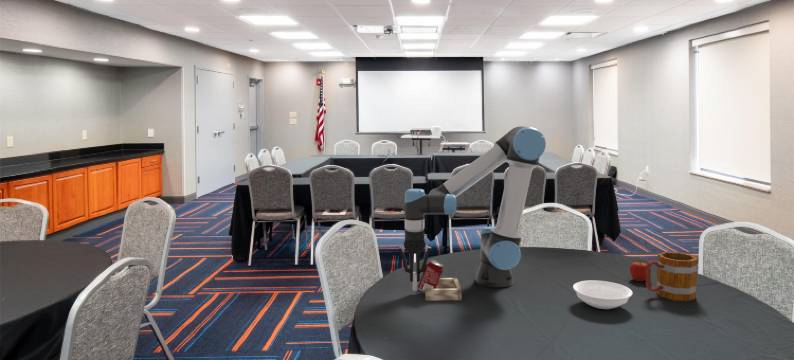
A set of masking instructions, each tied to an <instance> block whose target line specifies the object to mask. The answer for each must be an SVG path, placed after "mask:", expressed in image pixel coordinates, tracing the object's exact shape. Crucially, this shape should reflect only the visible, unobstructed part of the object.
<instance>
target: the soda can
mask: <svg viewBox="0 0 794 360" xmlns="http://www.w3.org/2000/svg"><path fill="white" fill-rule="evenodd" d="M443 268H444V265H443V263H441V262H439V261H436V260H434V259H430V260H429V261H427V263H426V267H425V271H424V272H422V274H421V275H420V281H419V282H417V289H418V290H419V291H420V292H422V293H424V294H425V289H435V288H436V286H437V284H438V281H439V279H440V278H442V277H441V276H442V274H443V272H444V269H443Z"/></svg>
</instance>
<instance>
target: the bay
mask: <svg viewBox="0 0 794 360" xmlns="http://www.w3.org/2000/svg"><path fill="white" fill-rule="evenodd" d="M462 293H463V292H462V287H461V285H460V283H459V280H458V278H457V277H440V279H439V281H438V284H437V286H436V288H435V289H425V293H424V294H425V295H424V297H425V301H433V302H434V301H462V300H463V299H462V295H463V294H462Z"/></svg>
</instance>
